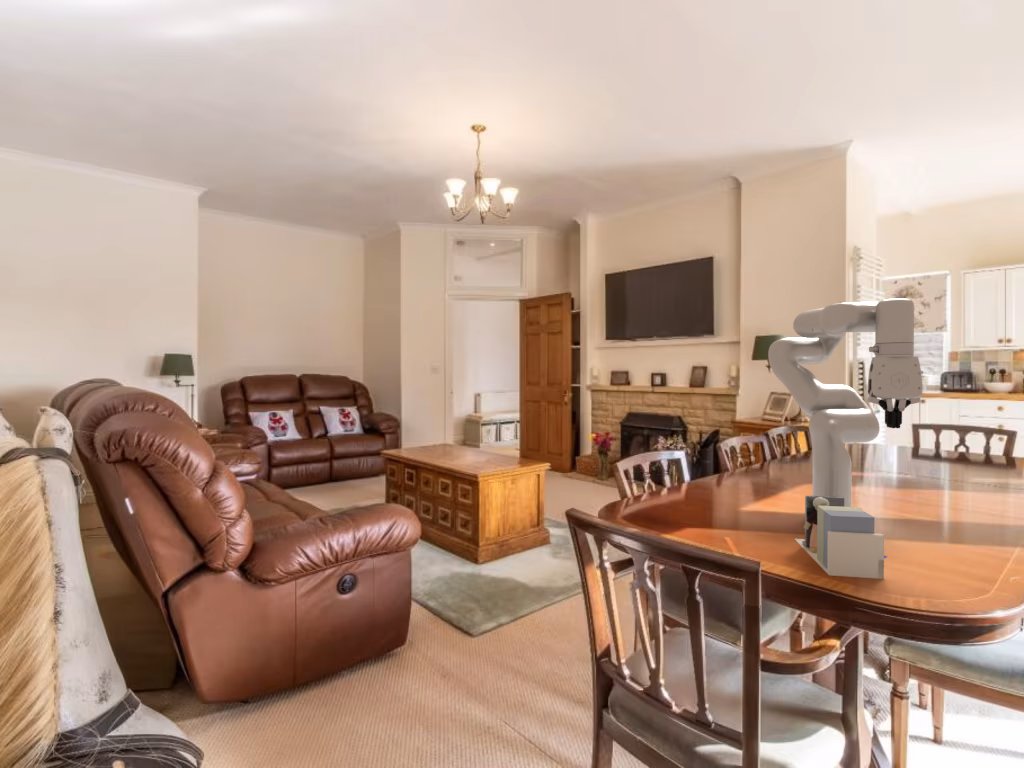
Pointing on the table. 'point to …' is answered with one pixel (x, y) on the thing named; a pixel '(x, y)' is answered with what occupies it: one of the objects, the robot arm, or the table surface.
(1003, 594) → the table surface
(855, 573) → the book rack
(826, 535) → the book slate
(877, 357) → the robot arm
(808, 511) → the bookend
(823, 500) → the grandmother figurine
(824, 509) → the book sage
